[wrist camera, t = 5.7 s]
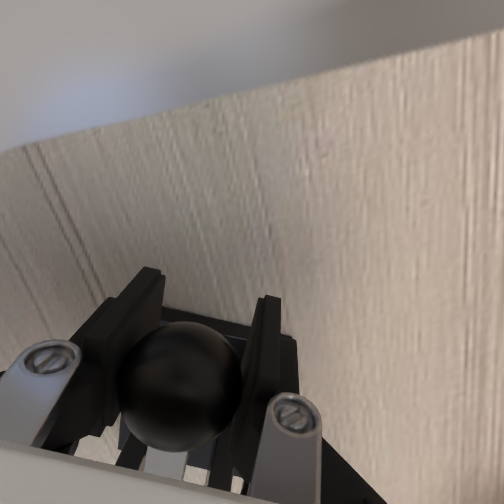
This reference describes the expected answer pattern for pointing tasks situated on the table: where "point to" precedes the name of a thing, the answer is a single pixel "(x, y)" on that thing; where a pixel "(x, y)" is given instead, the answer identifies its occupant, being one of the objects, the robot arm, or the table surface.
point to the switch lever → (178, 393)
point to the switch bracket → (216, 450)
